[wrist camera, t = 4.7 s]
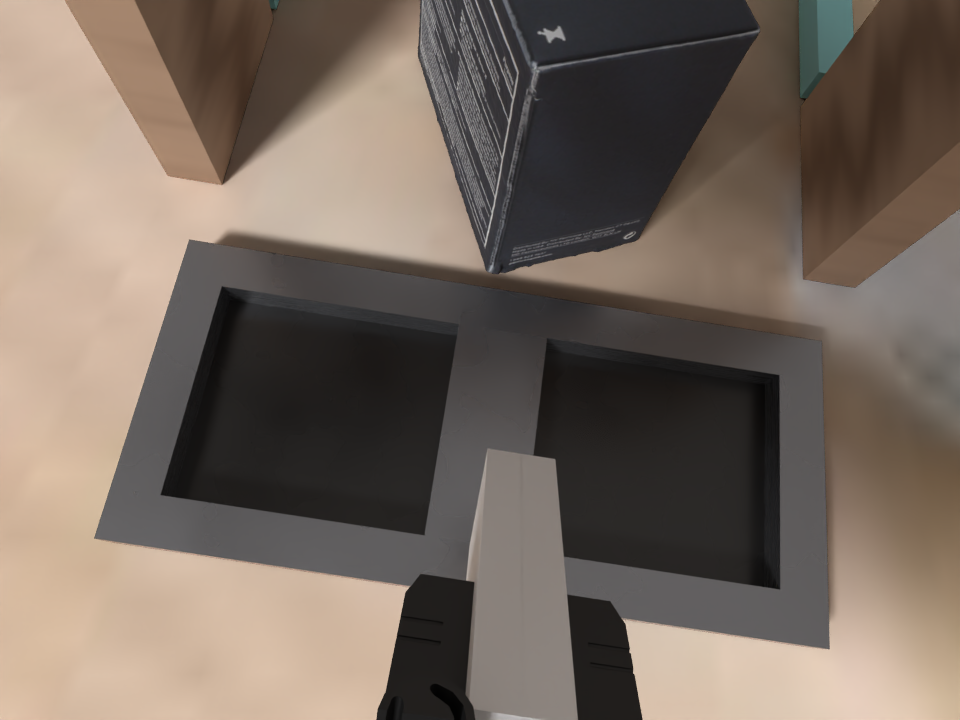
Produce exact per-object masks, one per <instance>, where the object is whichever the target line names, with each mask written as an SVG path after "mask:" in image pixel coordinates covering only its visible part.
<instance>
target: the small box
mask: <svg viewBox="0 0 960 720" xmlns="http://www.w3.org/2000/svg"><path fill="white" fill-rule="evenodd" d="M759 33H760V27H759V25H758V23H757V21H756V20H755V18H754V16H753V14H752V12H751V10H750V8H749V7H748V5H747V3H746V1H745V0H420V27H419V46H418V58H419V61H420V63H421V67H422V69H423V74H424V77H425V80H426V83H427V87H428V89H429V93H430V96H431V99H432V102H433V105H434V108H435V112H436V115H437V121H438V122H439V125H440V127H441V131H442V134H443V137H444V141H445V143H446V147H447V149H448V153H449V156H450V159H451V163H452V165H453V168H454V172H455V178H456V180H457V183H458V185H459V188H460V191H461V193H462V197H463V200H464V204H465V206H466V211H467V213H468V216H469V219H470V222H471V225H472V228H473V231H474V234H475V237H476V240H477V243H478V245H479V249H480V252H481V255H482V258H483V261H484V265H485V269H486V271H487V272H490V273H492V274H499V273H500V272H501V273H506V272H509V271H512V270H515V269H516V268H519V267H523V266H528V267H530V266H532V265H533V264H537V263H541V262H546V261H550V260H555V259H559V258H564V257H568V256H576V255H578V254H582V253H587V252H591V251H594V252H600V251H602V250H606V249H609V248H613V247H616V246H620V245H622V244H625V243H630V242H634V241H636V240H638V239H639V237H640V235H641V233H642V231H643V229H644V227H645V226H646V224H647V222H648V221H649V219H650V217H651V215H652V213H653V212H654V210H655V209H656V207H657V205H658V203H659V201H660V200H661V198H662V196H663V194H664V193H665V191H666V189H667V188H668V186H669V184H670V182H671V181H672V179H673V177H674V175H675V174H676V172H677V170H678V169H679V167H680V165H681V163H682V161H683V160H684V159H685V157H686V155H687V153H688V151H689V150H690V148H691V146H692V144H693V143H694V141H695V139H696V138H697V136H698V134H699V133H700V131H701V129H702V128H703V126H704V124H705V123H706V121H707V119H708V118H709V116H710V114H711V112H712V111H713V109H714V107H715V105H716V104H717V102H718V100H719V99H720V97H721V96H722V94H723V92H724V91H725V89H726V87H727V85H728V83H729V82H730V80H731V78H732V76H733V74H734V73H735V71H736V69H737V67H738V66H739V64H740V63H741V61H742V59H743V58H744V56H745V54H746V52H747V51H748V49H749V47H750V46H751V45H752V43H753V42H754V41H755V39H756V38H757V36H758V34H759Z"/></svg>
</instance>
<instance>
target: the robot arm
mask: <svg viewBox="0 0 960 720" xmlns="http://www.w3.org/2000/svg"><path fill="white" fill-rule="evenodd" d="M629 650H630V648H629V642H628V636H627V631H626V625H625V623H624V621H623V620H622V618H621V617H620V615H619V614H618V612H617V611H616V609H615V608H614V606H613V604H612V603H611V601H606V600H600V599H593V598H587V597H580V596H574V595H567V589H566V577H565V566H564V554H563V542H562V531H561V519H560V508H559V496H558V484H557V473H556V461H555V459H551V458H545V457H538V456H532V455H526V454H519V453H513V452H507V451H501V450H494V449H488V450H487V455H486V460H485V466H484V471H483V476H482V482H481V487H480V492H479V498H478V503H477V508H476V514H475V519H474V524H473V530H472V535H471V541H470V546H469V556H468V567H467V577H466V581H465V580H459V579H452V578H446V577H439V576H433V575H426V574H420V575H419V577H418V578H417V579H416V580H415V582H414V583H413V584H412V585H411V586H410V588H409V589H408V590H407V591H406V593H405V598H404V603H403V608H402V613H401V619H400V623H399V628H398V633H397V639H396V643H395V648H394V653H393V658H392V663H391V668H390V673H389V678H388V683H387V688H386V693H385V694H384V696H383V699H382V701H381V703H380V705H379V708H378V712H377V720H642V714H641V709H640V703H639V698H638V692H637V687H636V681H635V675H634V674H633V664H632V659H631V653H629Z"/></svg>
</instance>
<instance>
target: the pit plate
mask: <svg viewBox="0 0 960 720" xmlns="http://www.w3.org/2000/svg"><path fill="white" fill-rule="evenodd" d="M488 449H494V450H501V451H507V452H513V453H519V454H526V455H532V456H538V457H545V458H551V459H555V461H556V473H557V484H558V496H559V508H560V519H561V531H562V542H563V554H564V566H565V577H566V589H567V595H574V596H580V597H587V598H593V599H600V600H606V601H611V603H612V604H613V606H614V608H615V609H616V611H617V612H618V614H619V615H620V617H621V618H622V619H624V620H631V621H637V622H644V623H651V624H657V625H664V626H671V627H677V628H684V629H690V630H697V631H704V632H710V633H717V634H724V635H730V636H737V637H744V638H750V639H757V640H763V641H770V642H777V643H783V644H790V645H797V646H803V647H810V648H821V649H830V645H829V605H828V566H827V527H826V487H825V448H824V409H823V370H822V341H818V340H811V339H805V338H799V337H793V336H786V335H780V334H774V333H768V332H762V331H755V330H749V329H743V328H737V327H730V326H724V325H718V324H712V323H705V322H699V321H693V320H687V319H681V318H674V317H668V316H662V315H656V314H649V313H643V312H637V311H631V310H624V309H618V308H612V307H606V306H600V305H593V304H587V303H581V302H575V301H568V300H562V299H556V298H550V297H544V296H537V295H531V294H525V293H519V292H512V291H506V290H500V289H494V288H487V287H481V286H475V285H469V284H463V283H456V282H450V281H444V280H438V279H431V278H425V277H419V276H413V275H406V274H400V273H394V272H388V271H382V270H375V269H369V268H363V267H357V266H350V265H344V264H338V263H332V262H326V261H319V260H313V259H307V258H301V257H294V256H288V255H282V254H276V253H269V252H263V251H257V250H251V249H245V248H238V247H232V246H226V245H220V244H213V243H207V242H201V241H195V240H189V242H188V245H187V249H186V252H185V255H184V258H183V261H182V264H181V267H180V271H179V274H178V277H177V280H176V283H175V286H174V289H173V292H172V296H171V299H170V302H169V305H168V308H167V311H166V314H165V318H164V321H163V324H162V327H161V330H160V333H159V336H158V340H157V343H156V346H155V349H154V352H153V355H152V358H151V362H150V365H149V368H148V371H147V374H146V377H145V380H144V383H143V387H142V390H141V393H140V396H139V399H138V402H137V405H136V409H135V412H134V415H133V418H132V421H131V424H130V427H129V431H128V434H127V437H126V440H125V443H124V446H123V449H122V453H121V456H120V459H119V462H118V465H117V468H116V471H115V475H114V478H113V481H112V484H111V487H110V490H109V493H108V496H107V500H106V503H105V506H104V509H103V512H102V515H101V518H100V522H99V525H98V528H97V531H96V534H95V537H94V539H99V540H103V541H108V542H113V543H120V544H126V545H133V546H140V547H146V548H153V549H160V550H166V551H173V552H179V553H186V554H193V555H199V556H206V557H213V558H219V559H226V560H233V561H239V562H246V563H252V564H259V565H266V566H272V567H279V568H286V569H292V570H299V571H306V572H312V573H319V574H325V575H332V576H339V577H345V578H352V579H359V580H365V581H372V582H379V583H385V584H392V585H398V586H405V587H410V586H411V585H412V584H413V583H414V582H415V580H416V579H417V578H418V577H419V575H420V574H426V575H433V576H439V577H446V578H452V579H459V580H465V581H466V577H467V567H468V556H469V546H470V541H471V535H472V530H473V524H474V519H475V514H476V508H477V503H478V498H479V492H480V487H481V482H482V476H483V471H484V466H485V460H486V455H487V450H488Z"/></svg>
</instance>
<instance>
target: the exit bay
mask: <svg viewBox="0 0 960 720" xmlns="http://www.w3.org/2000/svg"><path fill="white" fill-rule="evenodd" d="M278 2H279V0H269V3H270V7H271V9H277V6H278ZM853 36H854V33H853V12H852V0H799V53H800V98H806V99H807V98H808V96H809V95H810V94H811V92H812V91H813V90H814V88H815V87H816V86H817V84H818V83H819V82H820V80H821V79H822V78H823V76H824V75H825V74H826V72H827V71H828V70H829V68H830V67H831V66H832V64H833V63H834V62H835V60H836V59H837V58H838V56H839V55H840V54H841V52H842V51H843V49H844V48H845V47H846V45H847V44H848V43H849V41H850V40H851V39H852V37H853Z"/></svg>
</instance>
